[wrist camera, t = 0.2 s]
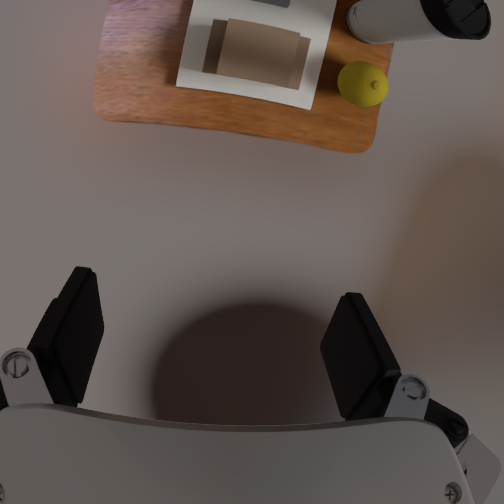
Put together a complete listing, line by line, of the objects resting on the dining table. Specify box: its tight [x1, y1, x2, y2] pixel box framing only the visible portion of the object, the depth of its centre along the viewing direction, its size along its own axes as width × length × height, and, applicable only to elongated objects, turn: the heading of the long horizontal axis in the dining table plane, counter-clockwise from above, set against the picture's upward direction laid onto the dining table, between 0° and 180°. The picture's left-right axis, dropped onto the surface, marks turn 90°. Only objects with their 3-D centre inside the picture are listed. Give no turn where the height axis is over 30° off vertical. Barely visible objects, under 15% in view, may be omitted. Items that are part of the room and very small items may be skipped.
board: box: [176, 0, 337, 110], centre depth 29 cm, size 20×16×2 cm
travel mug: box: [346, 0, 491, 44], centre depth 21 cm, size 6×7×20 cm
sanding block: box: [202, 18, 311, 90], centre depth 28 cm, size 6×10×6 cm, turn 78°
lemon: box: [337, 61, 388, 107], centre depth 31 cm, size 6×6×8 cm
